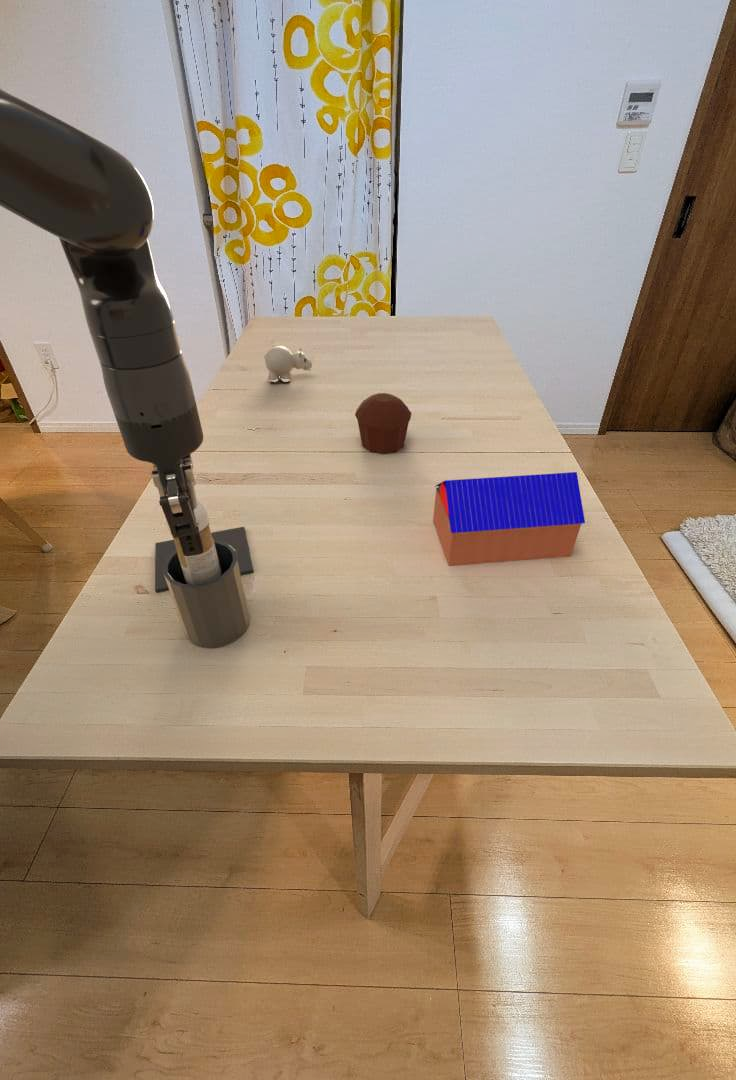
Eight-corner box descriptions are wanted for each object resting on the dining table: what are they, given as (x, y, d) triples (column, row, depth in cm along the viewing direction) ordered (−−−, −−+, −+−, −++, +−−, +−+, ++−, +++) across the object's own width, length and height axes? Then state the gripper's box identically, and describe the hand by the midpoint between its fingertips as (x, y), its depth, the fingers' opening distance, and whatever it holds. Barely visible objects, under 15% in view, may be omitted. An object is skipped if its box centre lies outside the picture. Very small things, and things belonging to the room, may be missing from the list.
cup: (185, 655, 66) (163, 594, 59) (183, 607, 72) (163, 547, 65) (253, 639, 68) (240, 578, 61) (245, 594, 74) (232, 534, 67)
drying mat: (155, 592, 74) (154, 589, 74) (156, 545, 82) (155, 542, 82) (253, 572, 78) (253, 569, 77) (244, 529, 86) (244, 526, 85)
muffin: (417, 453, 105) (420, 406, 98) (365, 461, 102) (364, 414, 96) (398, 426, 113) (400, 382, 107) (349, 433, 111) (348, 389, 105)
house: (573, 557, 80) (594, 494, 72) (446, 567, 78) (454, 504, 71) (544, 511, 89) (560, 451, 82) (430, 519, 87) (436, 459, 80)
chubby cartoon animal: (314, 383, 132) (312, 350, 126) (266, 386, 131) (262, 352, 125) (313, 373, 137) (311, 340, 132) (267, 375, 136) (263, 342, 131)
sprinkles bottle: (191, 585, 68) (165, 501, 59) (226, 579, 69) (205, 495, 60) (190, 610, 64) (162, 525, 56) (228, 604, 65) (206, 518, 57)
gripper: (117, 378, 54) (159, 510, 65) (106, 442, 44) (159, 587, 54) (191, 370, 56) (220, 500, 67) (198, 430, 45) (232, 572, 56)
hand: (192, 538), depth 60 cm, fingers closed on sprinkles bottle, 4 cm apart
